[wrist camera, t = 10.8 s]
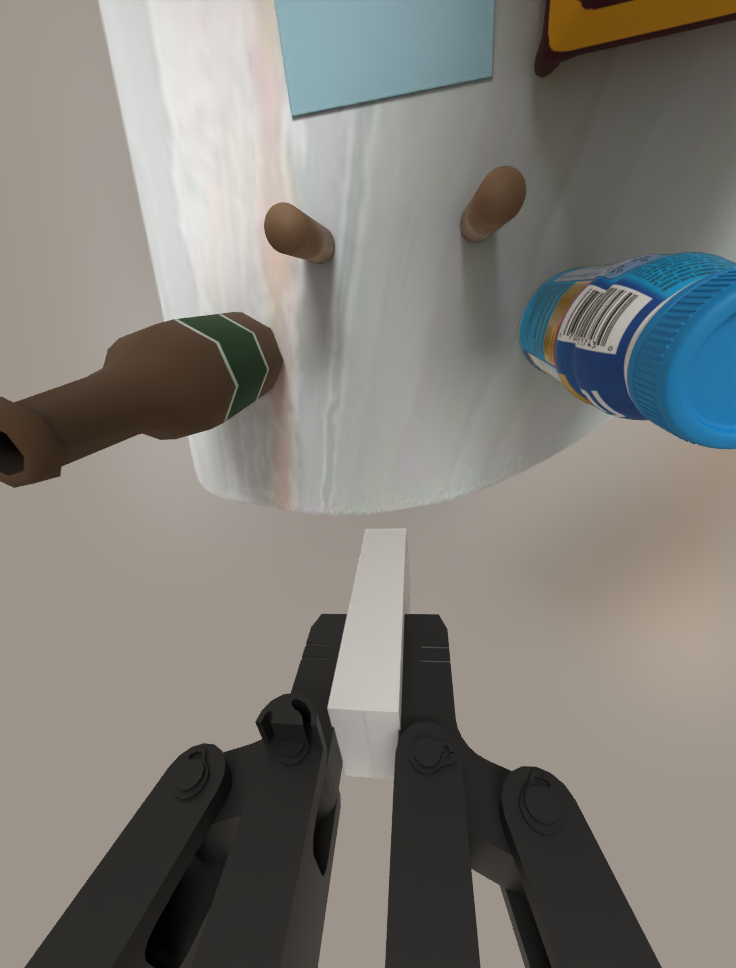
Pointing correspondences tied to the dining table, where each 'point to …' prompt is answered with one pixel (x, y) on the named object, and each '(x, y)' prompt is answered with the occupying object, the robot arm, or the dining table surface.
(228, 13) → the dining table surface
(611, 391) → the beverage bottle
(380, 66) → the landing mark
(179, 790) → the robot arm
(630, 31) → the decorative lantern
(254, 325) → the beer bottle
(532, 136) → the dining table surface
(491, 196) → the post
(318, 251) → the post
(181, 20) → the dining table surface
